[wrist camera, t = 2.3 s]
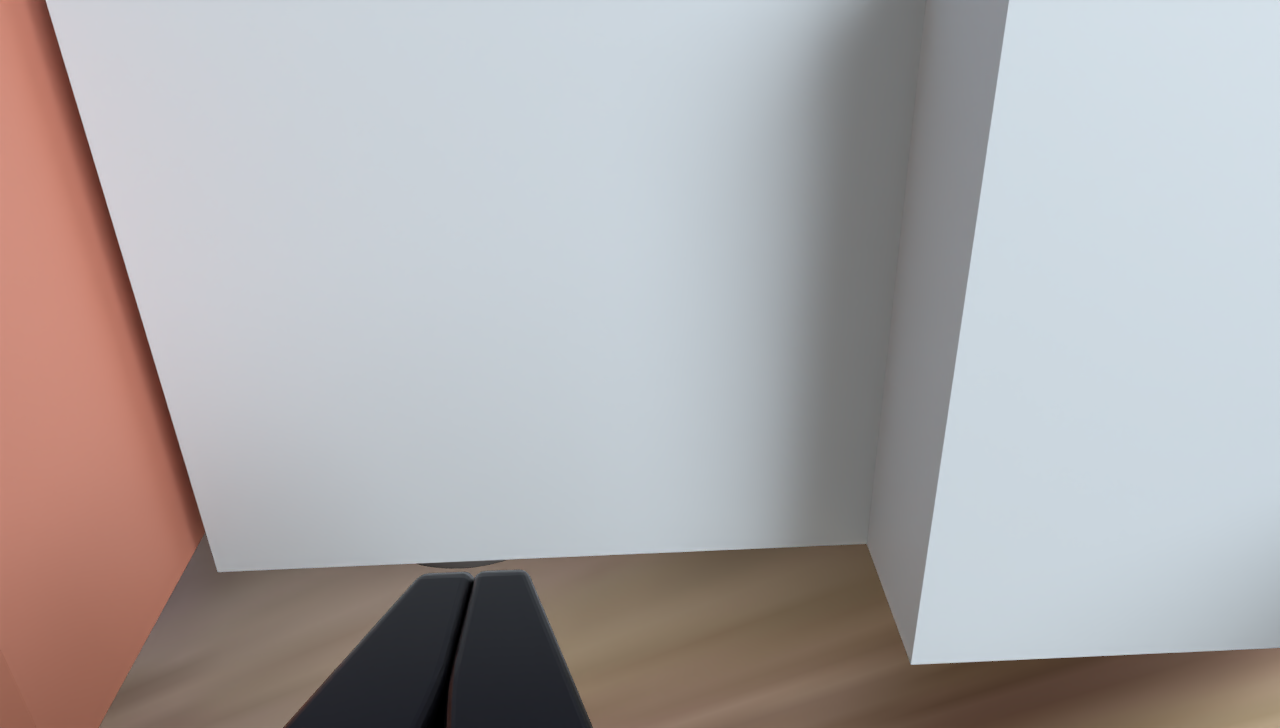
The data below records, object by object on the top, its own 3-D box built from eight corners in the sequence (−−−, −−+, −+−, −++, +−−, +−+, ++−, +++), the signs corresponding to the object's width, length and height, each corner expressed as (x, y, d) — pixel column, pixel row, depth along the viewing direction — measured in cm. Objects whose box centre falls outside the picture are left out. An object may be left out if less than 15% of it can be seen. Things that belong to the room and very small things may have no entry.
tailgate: (149, -96, 15) (-300, -1, 7) (273, 419, 19) (69, 800, 12) (93, -95, 15) (-412, 2, 7) (231, 421, 19) (2, 803, 12)
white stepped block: (1200, -197, 15) (1631, -201, 9) (1066, 422, 20) (1273, 694, 14) (162, -166, 14) (-161, -148, 8) (304, 454, 20) (171, 746, 14)
